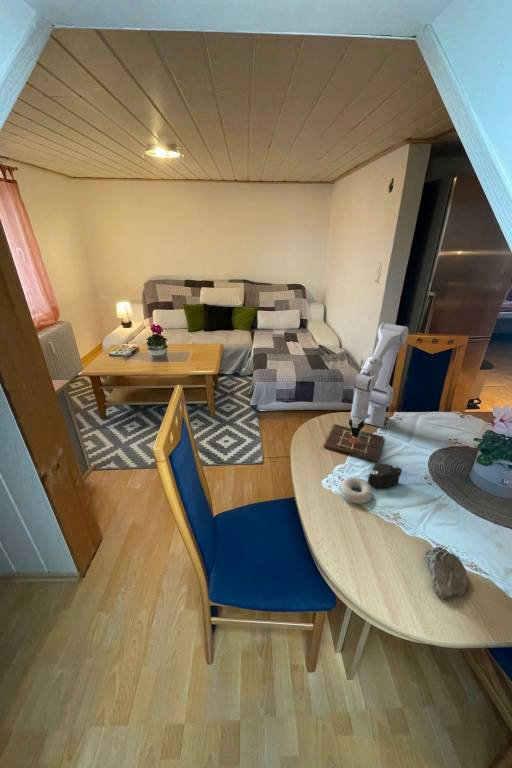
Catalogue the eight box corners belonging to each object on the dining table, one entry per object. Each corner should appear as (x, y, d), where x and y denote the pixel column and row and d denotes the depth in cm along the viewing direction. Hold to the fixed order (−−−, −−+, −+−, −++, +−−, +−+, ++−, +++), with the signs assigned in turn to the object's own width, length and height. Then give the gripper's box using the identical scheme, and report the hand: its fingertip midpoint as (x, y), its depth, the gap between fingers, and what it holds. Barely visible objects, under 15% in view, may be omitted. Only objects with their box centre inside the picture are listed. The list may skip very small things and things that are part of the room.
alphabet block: (353, 438, 118) (354, 432, 117) (350, 433, 121) (351, 427, 120) (360, 438, 118) (361, 431, 117) (357, 433, 121) (358, 427, 120)
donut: (343, 479, 104) (336, 499, 96) (344, 471, 103) (338, 491, 95) (373, 488, 100) (369, 510, 92) (375, 480, 99) (371, 502, 91)
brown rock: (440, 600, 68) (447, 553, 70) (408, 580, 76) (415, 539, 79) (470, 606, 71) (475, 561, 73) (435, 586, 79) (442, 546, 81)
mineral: (394, 498, 96) (397, 485, 94) (365, 487, 101) (367, 474, 98) (399, 479, 104) (403, 466, 101) (372, 469, 108) (375, 456, 106)
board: (334, 426, 132) (335, 424, 131) (383, 438, 123) (383, 436, 123) (324, 447, 119) (324, 444, 119) (377, 463, 111) (378, 460, 110)
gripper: (368, 415, 105) (362, 446, 112) (374, 397, 117) (369, 426, 123) (348, 411, 108) (343, 441, 115) (356, 393, 120) (351, 421, 126)
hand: (355, 433), depth 119 cm, fingers closed on alphabet block, 4 cm apart
